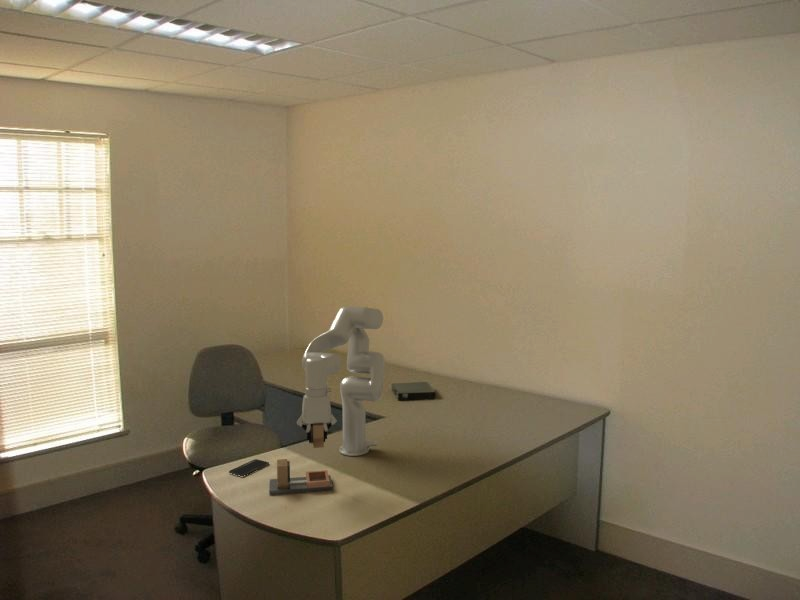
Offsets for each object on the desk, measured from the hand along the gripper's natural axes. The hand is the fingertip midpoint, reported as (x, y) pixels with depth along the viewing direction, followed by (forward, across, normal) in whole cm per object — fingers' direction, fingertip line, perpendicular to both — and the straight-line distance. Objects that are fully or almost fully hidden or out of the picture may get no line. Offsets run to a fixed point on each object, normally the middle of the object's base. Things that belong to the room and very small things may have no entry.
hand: (316, 440), depth 223 cm
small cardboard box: (+1, 0, 0) cm, 1 cm away
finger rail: (+17, +6, 0) cm, 18 cm away
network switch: (+17, -59, -111) cm, 127 cm away
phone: (+17, +25, -20) cm, 37 cm away
